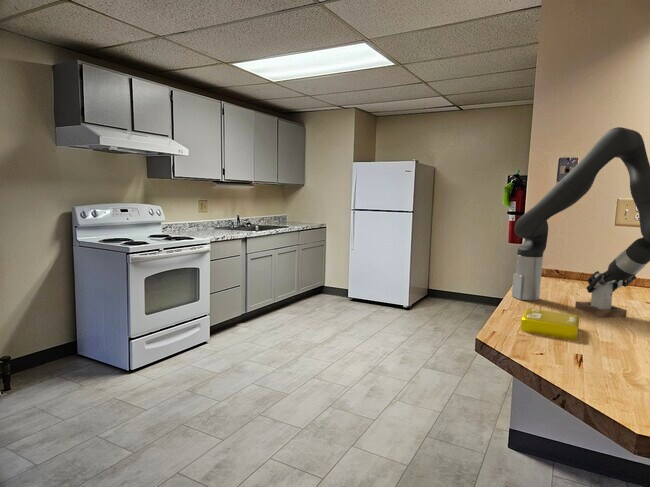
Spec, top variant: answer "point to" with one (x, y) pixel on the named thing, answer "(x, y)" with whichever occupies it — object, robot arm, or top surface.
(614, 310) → the seat block
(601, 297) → the skincare box
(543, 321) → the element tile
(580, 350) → the top surface
